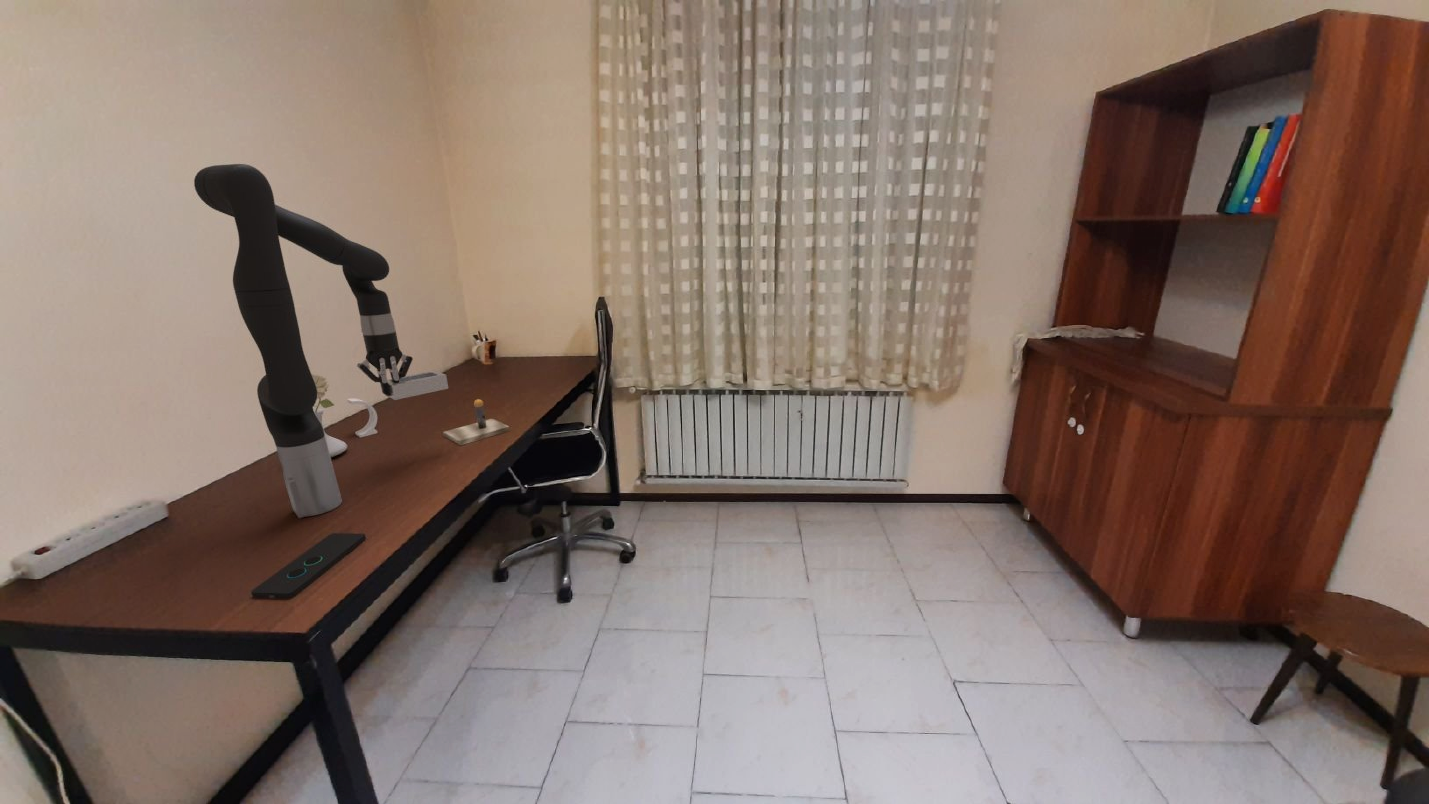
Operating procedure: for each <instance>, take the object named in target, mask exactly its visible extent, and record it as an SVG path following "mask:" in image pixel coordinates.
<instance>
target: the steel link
mask: <svg viewBox="0 0 1429 804" xmlns="http://www.w3.org/2000/svg"><path fill="white" fill-rule="evenodd" d="M391 380H392V378H387V383H388V385H389V390H390V396H387V397H388V398H390V399H393V400H394V401H397V400H401V399H407V398H411V397H415V396H420V395H424V394H429V393H434V392H438V391H444V390H447V389H449V385H448V379H447V374H445V373H442V372H440V371H438V370H430V371H425V372H419V373H415V374H409V375H406V376H405V377H402V378H400V379H399V383H394V382H392V381H391Z"/></svg>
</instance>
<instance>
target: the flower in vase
mask: <svg viewBox="0 0 1429 804" xmlns="http://www.w3.org/2000/svg"><path fill="white" fill-rule="evenodd" d="M311 374H312V377H313V380H314V382H315V385H316V388H317V400H318V401H319V402H318V404H317V405H316V404H314V406H313V410H314V413H315V415H316V417H317V419H318V420H319V422H320V423H321V425H322V427H323V430H324V434H325V438H326V442H327V446H328V449H329V453H330V457H331V458H333V457H335V456H337V455H340V454H342V453H343V452H345V451H346V450H347V448H348V445H347V444H346V442H344V440H341V439H338V438H335V437H333V436H330V435H328V433H326V432H325V429H324V426H323V415H324V413H325V409H327V408H330V407H334V406H335V404H334V403H333V402H332V401H331V400H330V399H328V398H324V399H322V398H323V397H324V396H325V395H326V393H327V391H328V387H329V384H328V381H327V380H326V377H324V376H323V375H318V374H315V373H311ZM320 405H321V406H322V408H319V406H320ZM314 408H315V409H314Z"/></svg>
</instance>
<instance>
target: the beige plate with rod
mask: <svg viewBox="0 0 1429 804" xmlns="http://www.w3.org/2000/svg"><path fill="white" fill-rule="evenodd" d="M473 406H474V408H475V415H476V422H475V423H470V424H468V425H467V424H466V425H464V426H461V427H460V426H459V427H456V428H453V429H450V430H446V431H443V432H442V433H443V437H445V438H446V439H448V440H450V441H451V442H453V443H455V444H457V445H459V446H463V445H467V444H469V443H473V442H477V441H480V440H483V439H486V438H491V437H494V436H497V435H501V434H504V433H508V432H511V430H510V426H509V425H507V424H504V423H503V422H501V421H499V420H497V419H494V418H488V419H486V415H485V410H484V409H485V408H484V401H483V400H482V399H479V398H478V399H475V400H474V402H473Z"/></svg>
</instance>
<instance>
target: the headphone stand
mask: <svg viewBox="0 0 1429 804" xmlns="http://www.w3.org/2000/svg"><path fill="white" fill-rule="evenodd" d="M346 399H347V402H348V403H349V404H352V405H357V404H358V405H362V406H363V405H364V407H366V409H367V411H368V412H369V413H368V415H369V418H368V421H367V423H366V425H364V427H363V428H361V429H359V430H357V431H355V433H354V434H355V436H357V437H359V438H364V437H367V436H371V435H375V434H378V430H377V429H375V427H376V426H377V423H378V414H377V410H376V409H375V408H374V407H373V406H372V405H371V404H369V403H367V402H366V401H364V400H362V399H359V398H346Z"/></svg>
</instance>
